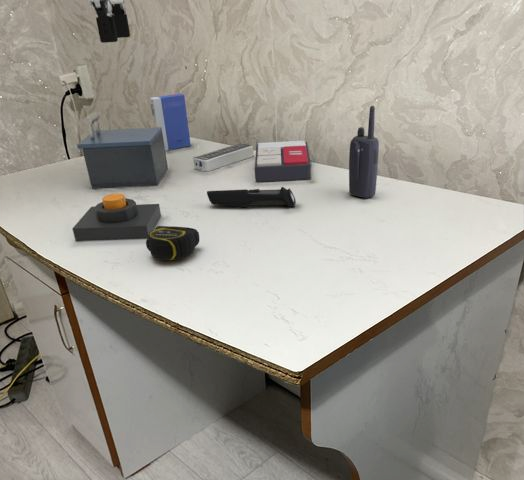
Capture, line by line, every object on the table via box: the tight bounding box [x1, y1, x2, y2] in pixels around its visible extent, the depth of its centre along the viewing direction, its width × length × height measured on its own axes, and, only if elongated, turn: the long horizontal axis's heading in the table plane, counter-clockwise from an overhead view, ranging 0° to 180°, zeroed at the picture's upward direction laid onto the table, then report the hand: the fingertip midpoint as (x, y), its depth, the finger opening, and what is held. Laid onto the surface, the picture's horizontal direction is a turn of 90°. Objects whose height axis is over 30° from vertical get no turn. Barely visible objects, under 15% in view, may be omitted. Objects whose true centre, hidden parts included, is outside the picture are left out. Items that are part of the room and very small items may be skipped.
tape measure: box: [145, 225, 200, 261], centre depth 78 cm, size 7×7×4 cm
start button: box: [101, 192, 127, 210], centre depth 87 cm, size 4×4×2 cm
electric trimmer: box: [206, 186, 297, 208], centre depth 94 cm, size 4×16×3 cm, turn 84°
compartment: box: [81, 132, 169, 189], centre depth 111 cm, size 14×12×8 cm
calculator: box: [254, 140, 312, 183], centre depth 111 cm, size 11×4×15 cm
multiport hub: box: [192, 142, 254, 173], centre depth 118 cm, size 4×14×2 cm, turn 136°
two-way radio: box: [348, 105, 380, 199], centre depth 92 cm, size 6×4×15 cm
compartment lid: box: [76, 111, 162, 150], centre depth 107 cm, size 14×12×5 cm
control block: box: [72, 197, 162, 242], centre depth 89 cm, size 12×10×4 cm
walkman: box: [149, 92, 192, 152], centre depth 129 cm, size 8×3×12 cm, turn 116°
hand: (116, 39), depth 105 cm, fingers open, 9 cm apart
